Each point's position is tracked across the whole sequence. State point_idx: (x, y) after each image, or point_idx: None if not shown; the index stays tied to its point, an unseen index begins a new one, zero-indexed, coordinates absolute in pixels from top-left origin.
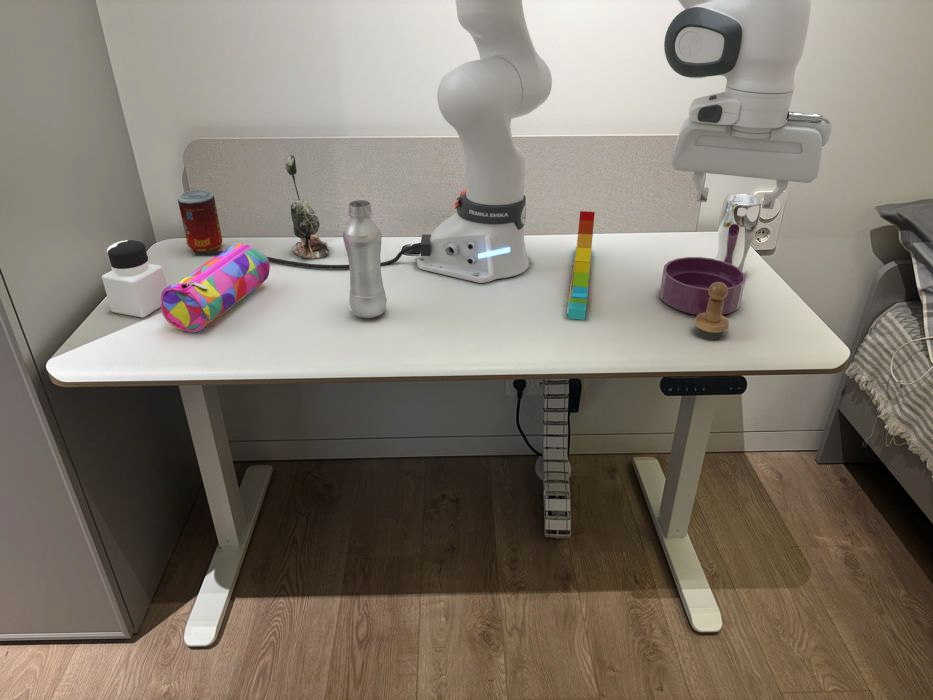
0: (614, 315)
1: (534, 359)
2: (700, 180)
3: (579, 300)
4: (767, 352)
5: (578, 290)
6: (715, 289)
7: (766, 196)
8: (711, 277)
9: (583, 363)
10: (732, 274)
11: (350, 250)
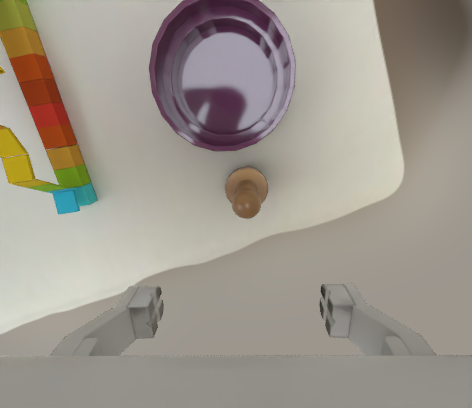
0: (126, 174)
1: (85, 291)
2: (104, 331)
3: (70, 180)
4: (313, 208)
5: (58, 191)
6: (241, 217)
7: (335, 327)
8: (238, 22)
9: (130, 284)
10: (273, 29)
11: None
